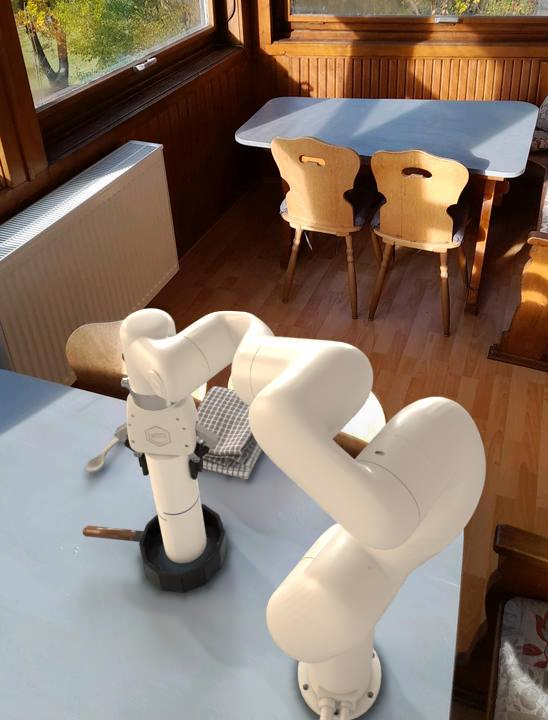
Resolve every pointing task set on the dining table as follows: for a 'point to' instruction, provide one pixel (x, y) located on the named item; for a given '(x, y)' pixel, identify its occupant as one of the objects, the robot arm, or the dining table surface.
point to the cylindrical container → (177, 506)
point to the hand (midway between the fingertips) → (172, 470)
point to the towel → (228, 433)
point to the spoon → (100, 457)
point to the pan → (152, 544)
